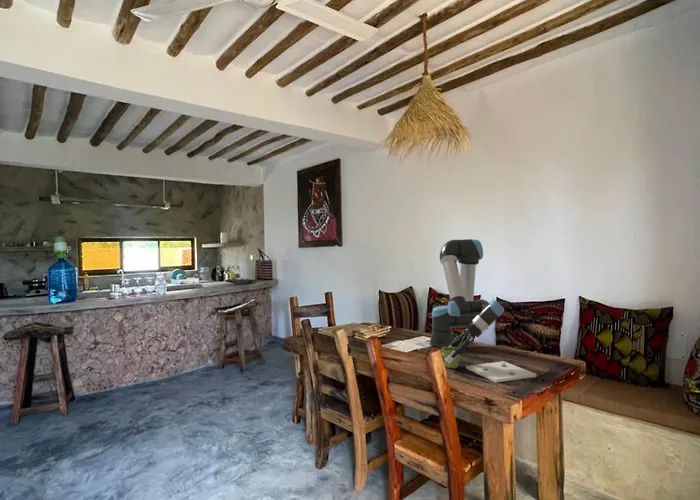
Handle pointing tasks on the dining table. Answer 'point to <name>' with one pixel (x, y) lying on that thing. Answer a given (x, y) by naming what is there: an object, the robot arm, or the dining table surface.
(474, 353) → the dining table surface
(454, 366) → the plant pot
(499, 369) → the pin board
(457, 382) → the dining table surface
